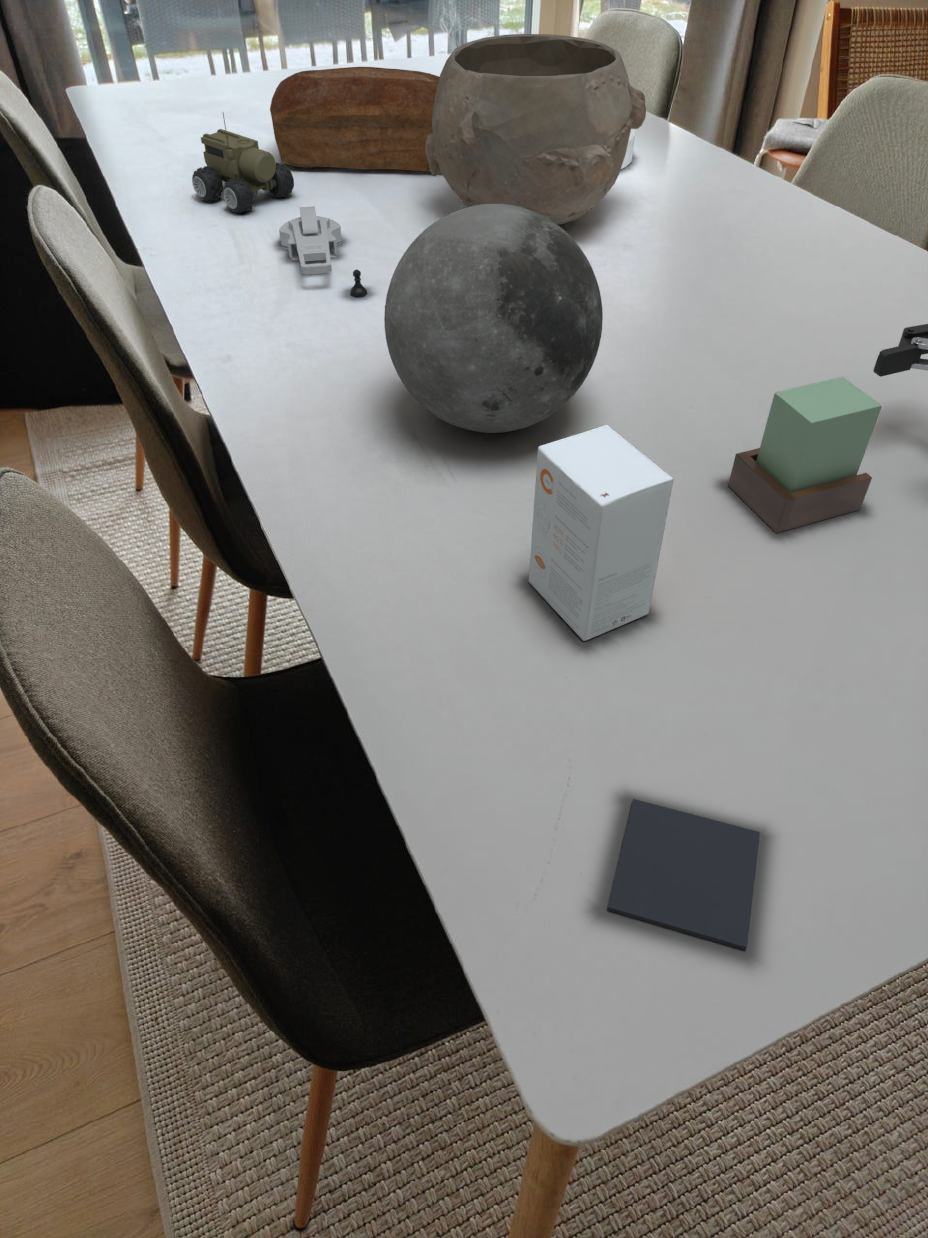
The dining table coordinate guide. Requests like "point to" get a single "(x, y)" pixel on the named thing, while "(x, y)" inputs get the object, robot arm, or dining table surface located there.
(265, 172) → the toy vehicle
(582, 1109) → the dining table surface
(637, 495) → the small box
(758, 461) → the green rectangular block
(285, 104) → the bread
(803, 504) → the u-shaped bracket
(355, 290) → the chess pawn
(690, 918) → the rubber mat
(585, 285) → the decorative sphere
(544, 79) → the bowl
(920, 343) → the robot arm
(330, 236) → the zipper pull
